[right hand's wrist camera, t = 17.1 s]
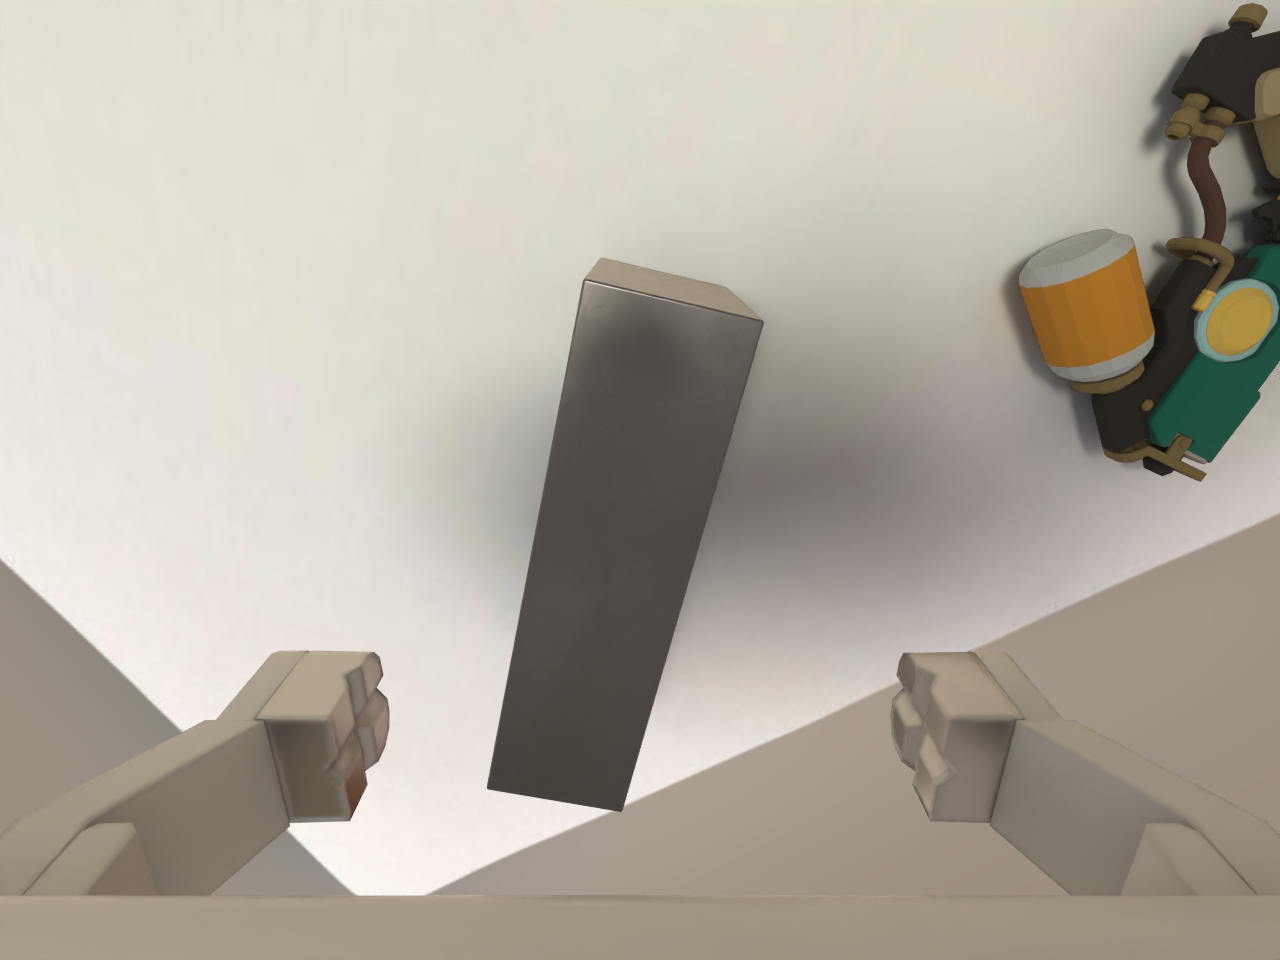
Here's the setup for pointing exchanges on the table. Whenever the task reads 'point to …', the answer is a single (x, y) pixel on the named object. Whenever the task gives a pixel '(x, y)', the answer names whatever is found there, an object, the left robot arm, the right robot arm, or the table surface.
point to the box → (619, 526)
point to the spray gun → (1176, 284)
